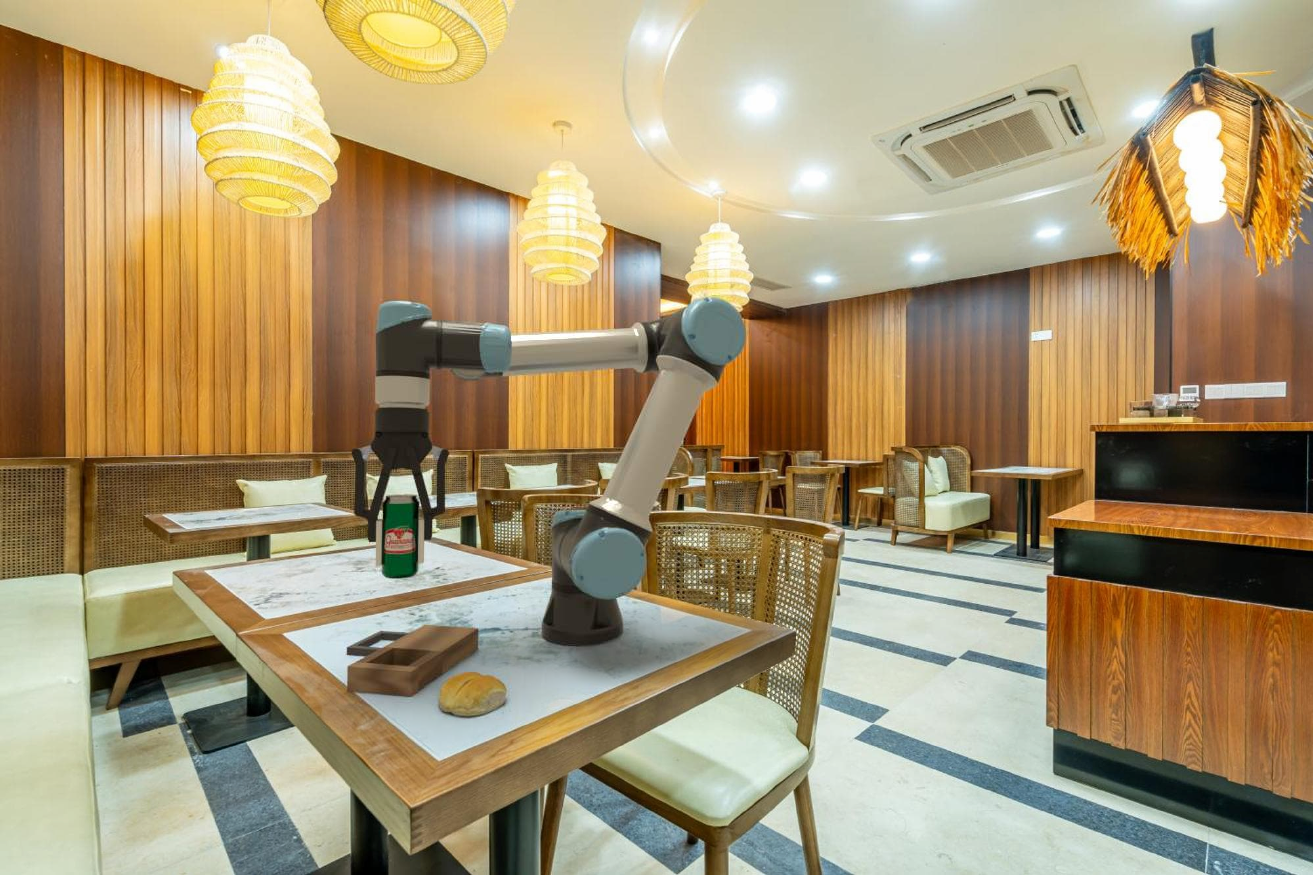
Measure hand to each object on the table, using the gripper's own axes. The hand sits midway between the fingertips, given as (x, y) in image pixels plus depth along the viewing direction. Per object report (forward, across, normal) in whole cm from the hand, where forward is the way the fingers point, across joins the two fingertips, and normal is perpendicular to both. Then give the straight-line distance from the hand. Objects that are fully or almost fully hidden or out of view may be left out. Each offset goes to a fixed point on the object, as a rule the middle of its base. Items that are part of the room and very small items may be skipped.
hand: (400, 562), depth 90 cm
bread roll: (+18, -10, +12) cm, 24 cm away
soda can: (+2, 0, 0) cm, 2 cm away
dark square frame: (+18, +3, -16) cm, 24 cm away
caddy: (+18, -3, -4) cm, 18 cm away
